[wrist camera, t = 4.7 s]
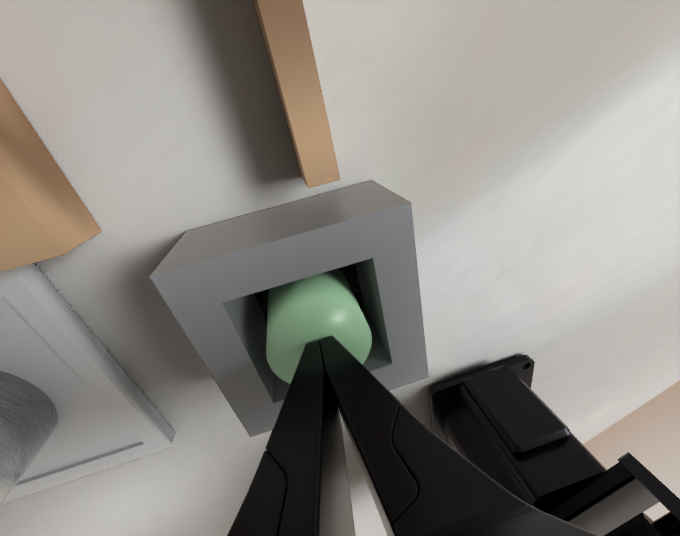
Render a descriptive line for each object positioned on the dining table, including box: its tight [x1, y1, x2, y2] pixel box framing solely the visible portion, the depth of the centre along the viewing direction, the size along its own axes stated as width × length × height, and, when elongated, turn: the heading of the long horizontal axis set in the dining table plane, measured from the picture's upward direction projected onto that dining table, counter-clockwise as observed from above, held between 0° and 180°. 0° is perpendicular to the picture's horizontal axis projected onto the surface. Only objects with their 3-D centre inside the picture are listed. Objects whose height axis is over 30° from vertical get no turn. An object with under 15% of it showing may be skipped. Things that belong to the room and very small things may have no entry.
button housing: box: [149, 180, 428, 437], centre depth 11 cm, size 7×7×4 cm
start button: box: [266, 268, 372, 384], centre depth 10 cm, size 3×3×3 cm
